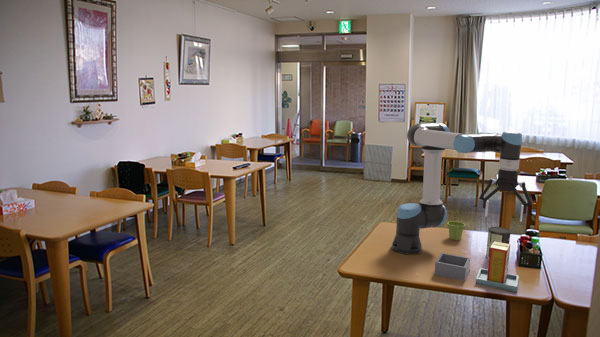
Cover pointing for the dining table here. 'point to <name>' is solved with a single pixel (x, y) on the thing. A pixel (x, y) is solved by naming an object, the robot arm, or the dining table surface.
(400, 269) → the dining table surface
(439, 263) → the box
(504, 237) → the coffee can
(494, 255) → the baking soda box
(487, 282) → the tray
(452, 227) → the plant pot
